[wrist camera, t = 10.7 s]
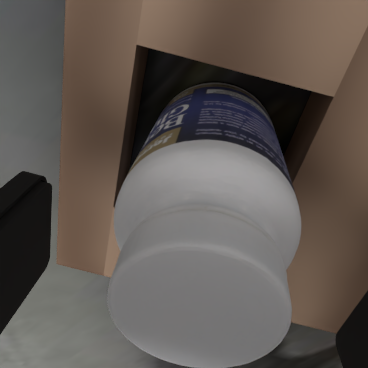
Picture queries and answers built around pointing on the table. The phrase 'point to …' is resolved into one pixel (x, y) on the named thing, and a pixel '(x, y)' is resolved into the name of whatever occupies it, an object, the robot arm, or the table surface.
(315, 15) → the pin board
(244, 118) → the pill bottle
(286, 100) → the table surface
